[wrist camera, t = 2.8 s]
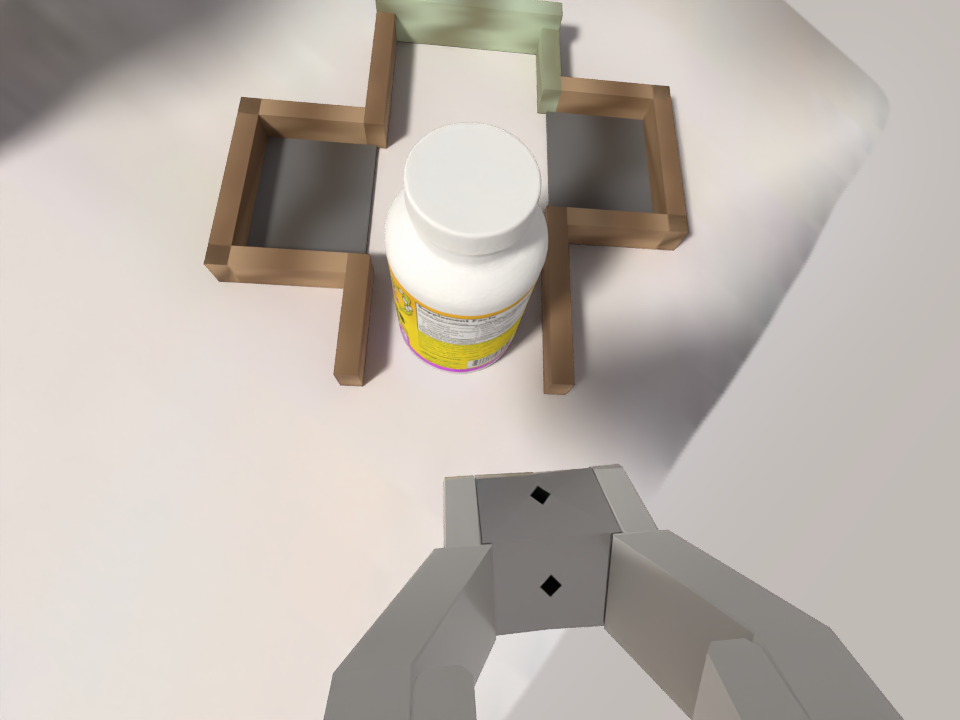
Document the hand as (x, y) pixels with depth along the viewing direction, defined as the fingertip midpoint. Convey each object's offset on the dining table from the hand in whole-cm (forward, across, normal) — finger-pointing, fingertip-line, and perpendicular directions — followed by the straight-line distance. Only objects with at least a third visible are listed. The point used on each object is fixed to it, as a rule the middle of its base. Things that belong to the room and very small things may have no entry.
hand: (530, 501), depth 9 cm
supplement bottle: (+20, +1, +4) cm, 21 cm away
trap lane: (+27, 0, -3) cm, 27 cm away
